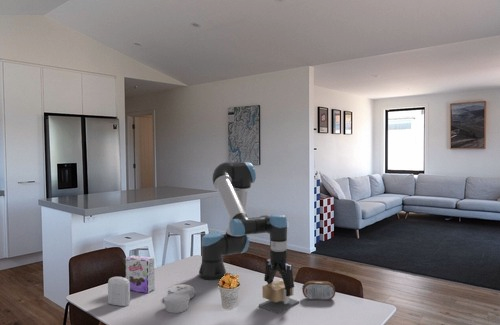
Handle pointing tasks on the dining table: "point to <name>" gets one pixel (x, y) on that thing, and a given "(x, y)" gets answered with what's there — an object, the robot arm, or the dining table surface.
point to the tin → (318, 290)
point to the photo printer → (119, 291)
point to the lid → (182, 289)
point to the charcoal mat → (278, 305)
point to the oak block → (275, 291)
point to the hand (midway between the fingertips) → (278, 300)
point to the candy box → (140, 273)
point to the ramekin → (176, 302)
